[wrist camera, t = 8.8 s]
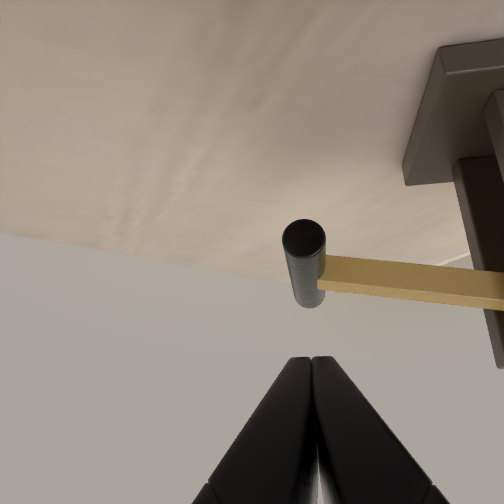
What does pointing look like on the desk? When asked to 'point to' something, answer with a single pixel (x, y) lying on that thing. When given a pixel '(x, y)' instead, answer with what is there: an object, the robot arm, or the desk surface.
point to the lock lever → (380, 275)
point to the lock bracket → (467, 152)
